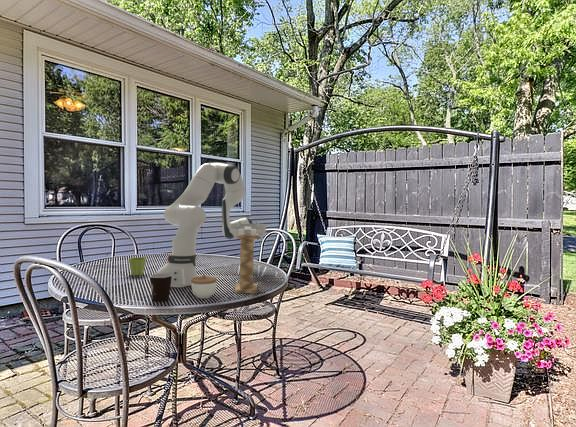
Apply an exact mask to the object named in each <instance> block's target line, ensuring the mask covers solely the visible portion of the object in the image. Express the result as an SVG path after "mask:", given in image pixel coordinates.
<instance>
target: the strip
mask: <svg viewBox="0 0 576 427" xmlns="http://www.w3.org/2000/svg"><path fill="white" fill-rule="evenodd" d="M238 235H256V229H251V227H246V226H245V228H244V229H239V231H238Z"/></svg>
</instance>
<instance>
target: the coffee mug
mask: <svg viewBox="0 0 576 427" xmlns="http://www.w3.org/2000/svg"><path fill="white" fill-rule="evenodd" d="M171 279H172V275H171V274H165V273H161V274H156V273H154V274H150V275H149V281H150V282H151V285H150V290H151V299H152V301H153V302H157V303H160V302H167V301H169V299H170V292H171V287H170V286H171ZM150 282H149V283H150Z"/></svg>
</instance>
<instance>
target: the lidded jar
mask: <svg viewBox="0 0 576 427" xmlns="http://www.w3.org/2000/svg"><path fill="white" fill-rule="evenodd" d="M217 280H218V279H217V277H215V276H207V275H206V274H203V275H200V276H197V277H194V278H192V279H191V285H190V287H191V290H192V293H193V294H194V296H195V297H196V298H197V299H203V298H204V299H209V298H212V296H213V295H214V293H215V291H216V289H217V282H218V281H217Z"/></svg>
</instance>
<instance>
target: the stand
mask: <svg viewBox="0 0 576 427" xmlns="http://www.w3.org/2000/svg"><path fill="white" fill-rule="evenodd" d="M235 239H237V240H239V239H240V250H239V252H240V253H239V255H240V256H239V259H240V260H239V283H235V287H234V293H235V294H257V293H258V283H254V257H255V256H254V254H255V250H254V248H255V243H254V239H255V240H259V239H258V233H256V235H238V233H237V234H236V237H235Z"/></svg>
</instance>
